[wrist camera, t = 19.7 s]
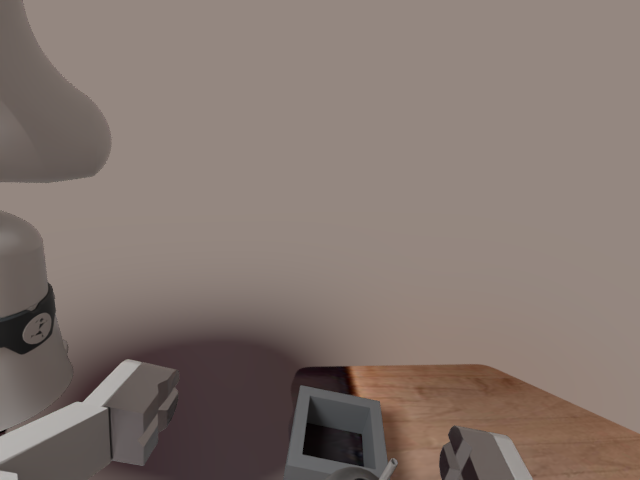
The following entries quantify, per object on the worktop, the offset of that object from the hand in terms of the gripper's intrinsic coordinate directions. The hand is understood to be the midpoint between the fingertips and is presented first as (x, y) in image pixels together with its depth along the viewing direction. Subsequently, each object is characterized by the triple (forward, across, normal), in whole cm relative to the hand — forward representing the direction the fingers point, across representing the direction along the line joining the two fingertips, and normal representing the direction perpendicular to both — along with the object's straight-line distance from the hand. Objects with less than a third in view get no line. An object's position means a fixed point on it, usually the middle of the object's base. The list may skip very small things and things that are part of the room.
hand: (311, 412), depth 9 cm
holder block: (+23, -6, +32) cm, 40 cm away
